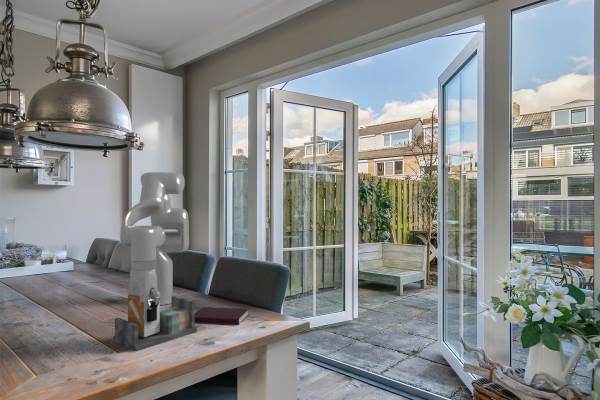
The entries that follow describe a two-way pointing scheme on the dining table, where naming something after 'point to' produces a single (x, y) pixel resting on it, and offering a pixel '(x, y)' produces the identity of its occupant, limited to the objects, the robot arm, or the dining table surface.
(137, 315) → the small box
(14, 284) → the dining table surface
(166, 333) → the rack
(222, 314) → the book
